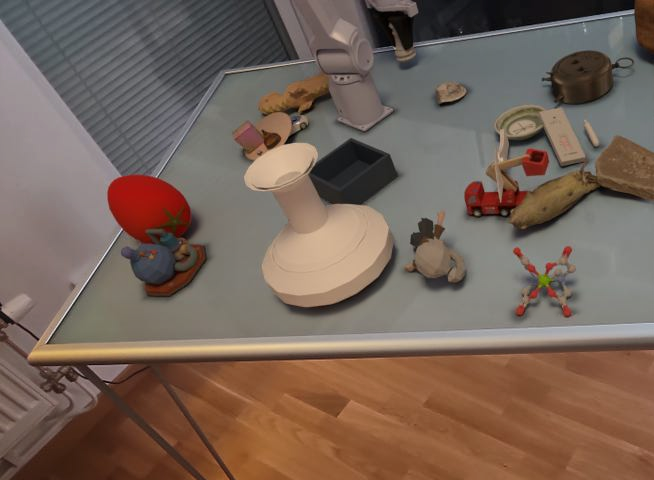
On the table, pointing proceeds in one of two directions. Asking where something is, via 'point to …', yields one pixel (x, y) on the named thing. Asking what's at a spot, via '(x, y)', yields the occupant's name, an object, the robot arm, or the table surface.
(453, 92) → the fossil
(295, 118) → the toy car
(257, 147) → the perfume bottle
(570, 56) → the alarm clock
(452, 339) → the table surface
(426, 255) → the toy
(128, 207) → the tomato
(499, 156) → the knife
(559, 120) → the pregnancy test
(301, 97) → the toy
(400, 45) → the rook chess piece
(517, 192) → the toy fire truck
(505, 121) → the saucer
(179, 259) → the model
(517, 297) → the table surface
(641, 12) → the bread
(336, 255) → the white vase
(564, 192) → the root vegetable
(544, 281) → the molecular model
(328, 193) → the bin
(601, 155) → the decorative stone
